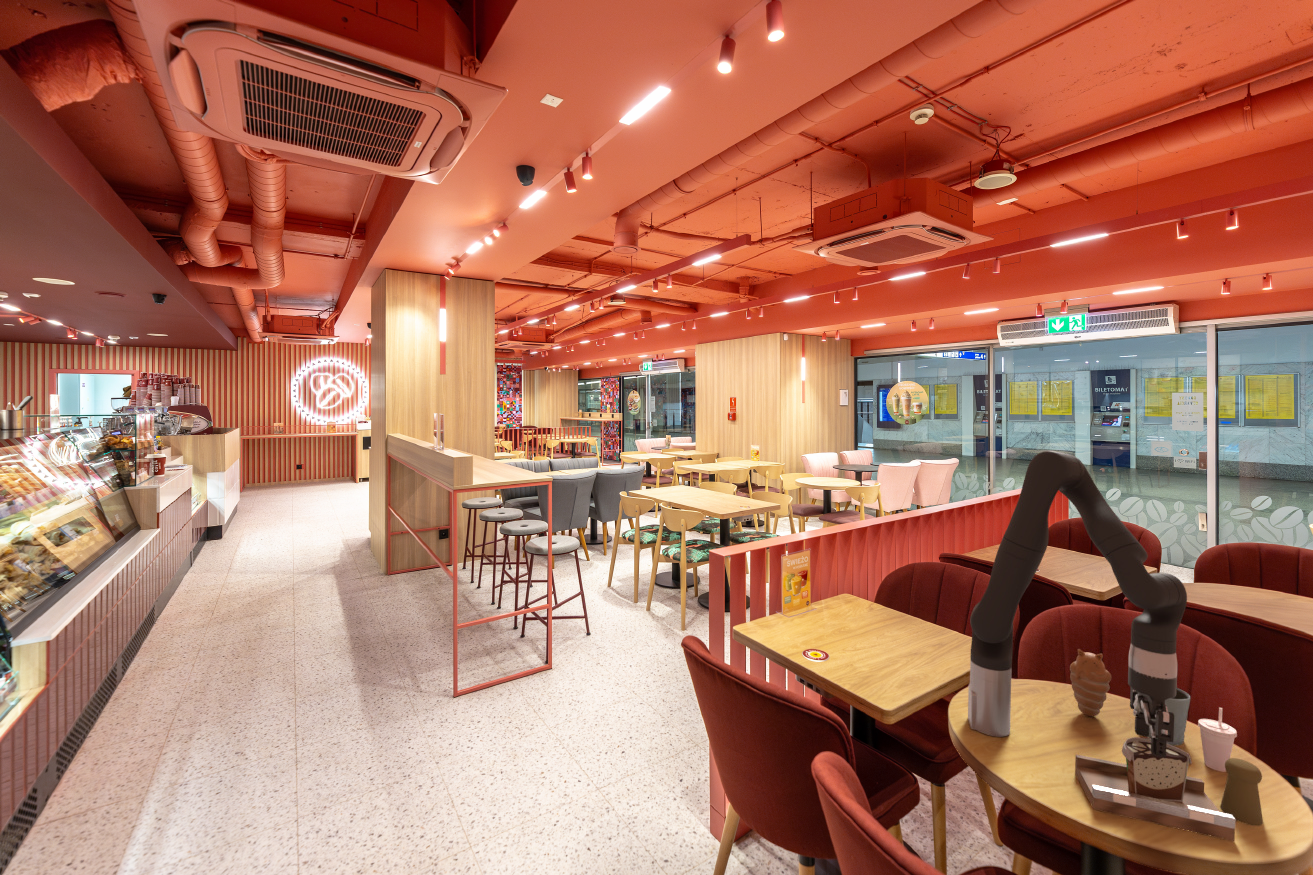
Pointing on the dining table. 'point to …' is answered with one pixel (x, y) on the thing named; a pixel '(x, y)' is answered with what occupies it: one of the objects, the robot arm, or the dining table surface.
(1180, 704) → the grey blue pot
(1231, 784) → the cork
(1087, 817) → the dining table surface
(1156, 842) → the dining table surface
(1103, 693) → the cat ice cream
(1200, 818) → the wooden tray
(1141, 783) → the food container
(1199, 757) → the dining table surface
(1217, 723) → the smoothie
